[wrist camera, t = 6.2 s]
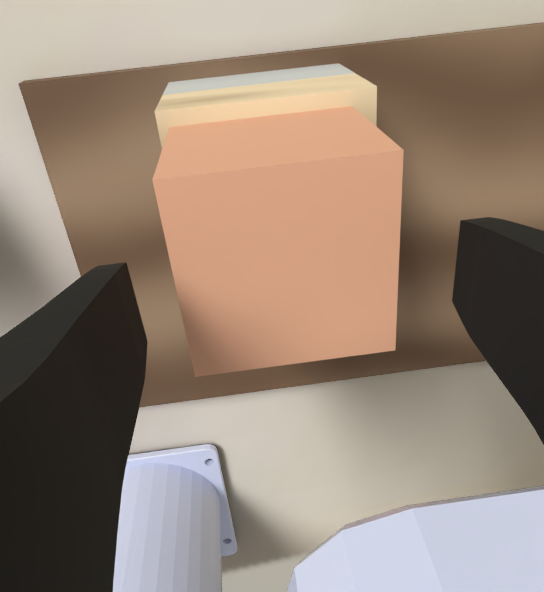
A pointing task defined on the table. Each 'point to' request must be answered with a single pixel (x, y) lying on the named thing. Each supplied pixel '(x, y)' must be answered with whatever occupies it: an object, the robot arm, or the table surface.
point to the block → (282, 237)
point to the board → (390, 120)
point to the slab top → (266, 101)
